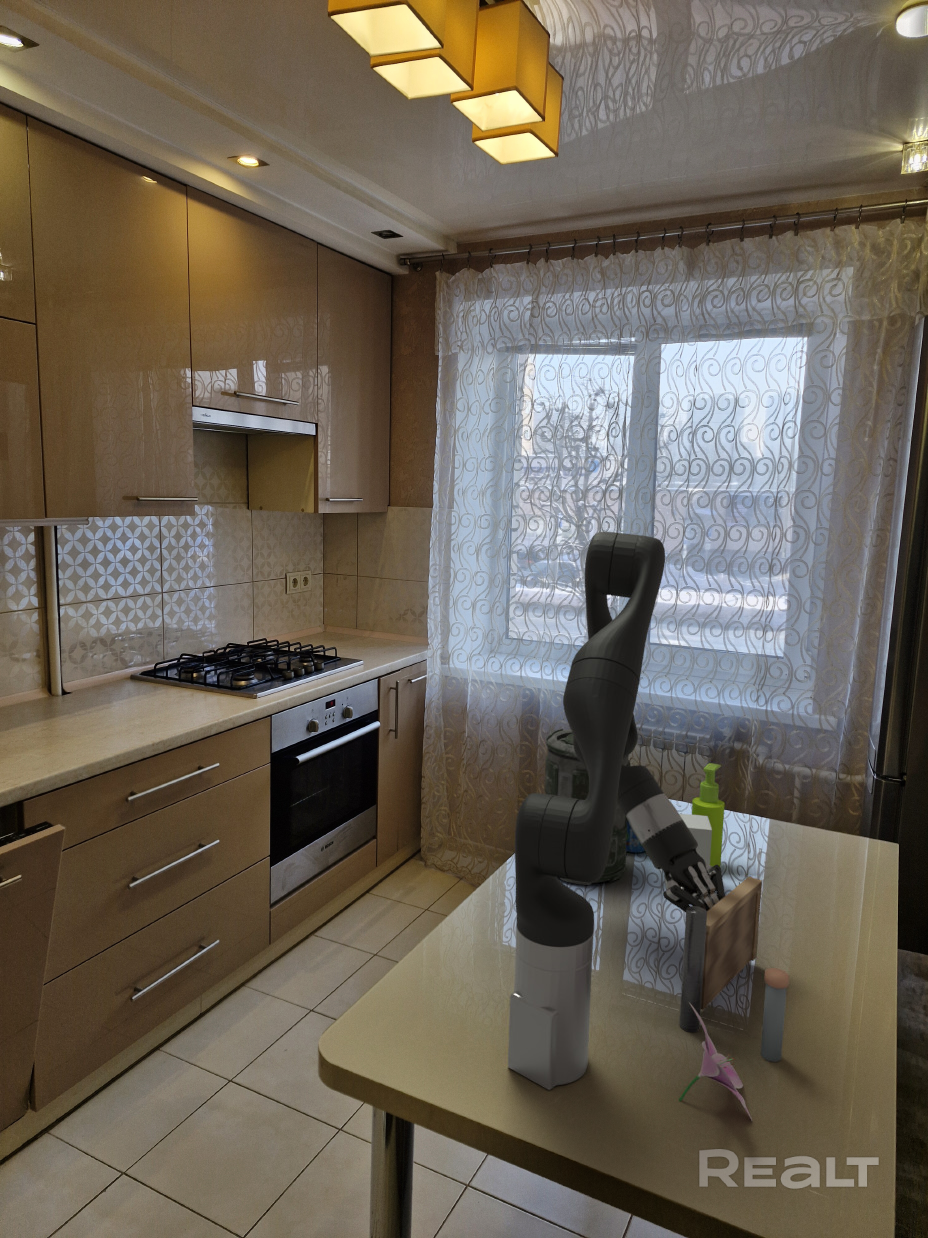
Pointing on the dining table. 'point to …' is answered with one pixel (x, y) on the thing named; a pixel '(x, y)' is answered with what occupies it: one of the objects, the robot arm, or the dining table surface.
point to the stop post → (774, 1013)
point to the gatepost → (693, 968)
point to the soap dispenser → (711, 811)
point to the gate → (730, 937)
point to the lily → (717, 1068)
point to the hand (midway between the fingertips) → (727, 937)
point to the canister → (582, 795)
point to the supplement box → (699, 835)
